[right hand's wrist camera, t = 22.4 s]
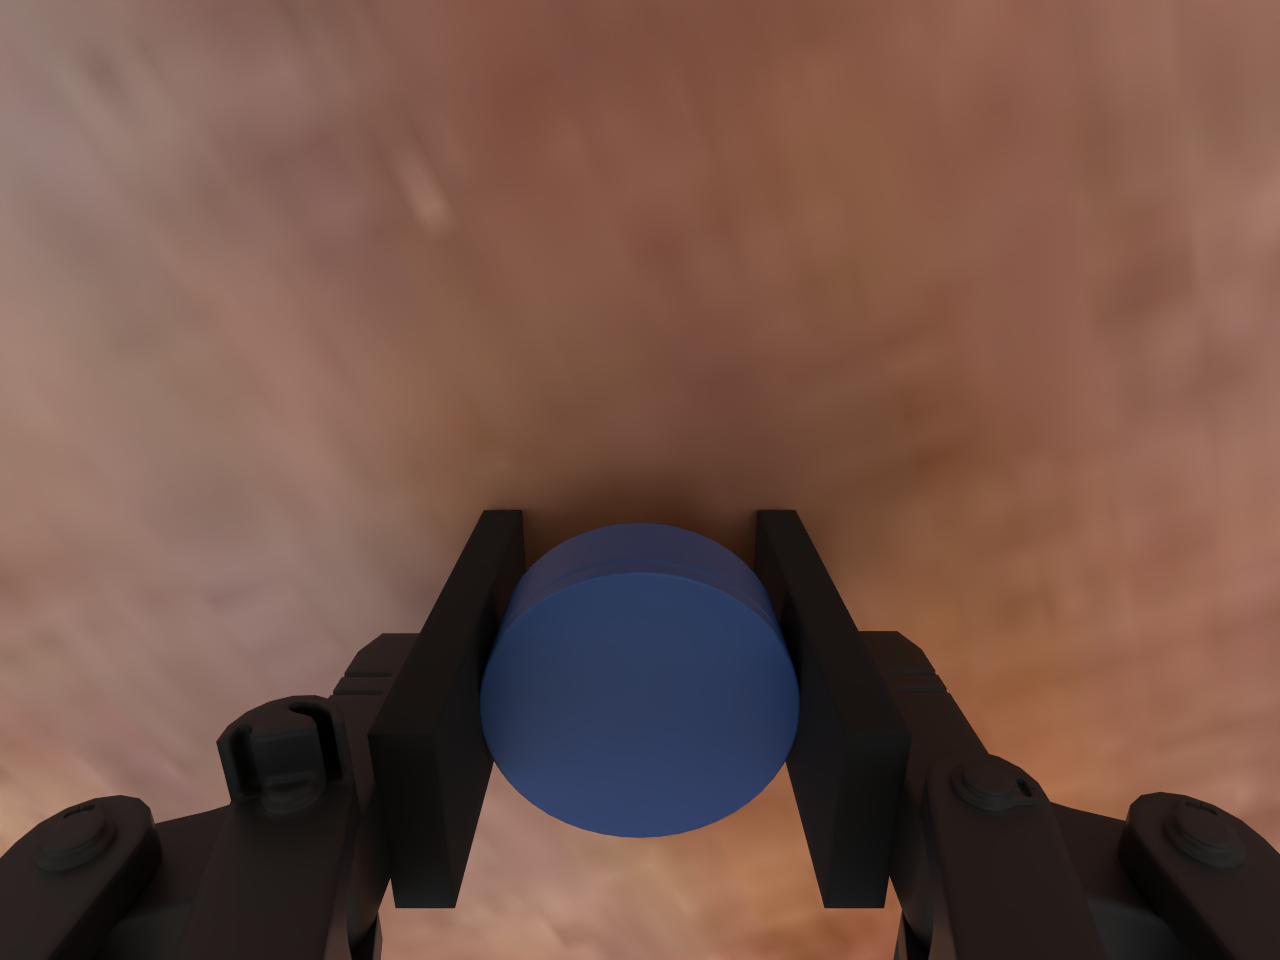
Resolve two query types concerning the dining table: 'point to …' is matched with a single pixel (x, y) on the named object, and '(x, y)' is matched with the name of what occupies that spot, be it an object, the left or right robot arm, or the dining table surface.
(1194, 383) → the dining table surface
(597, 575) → the lid
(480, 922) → the dining table surface
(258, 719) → the right robot arm
